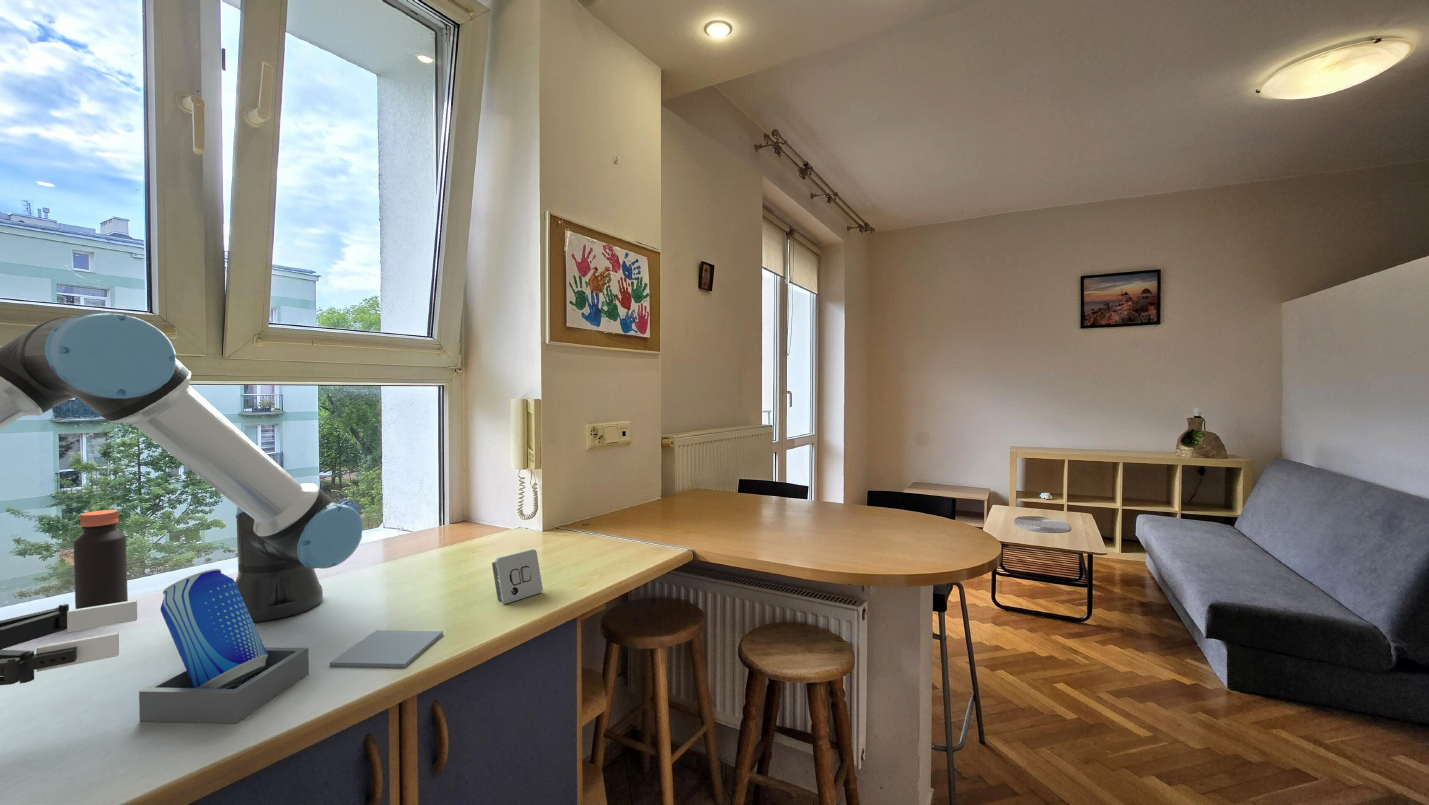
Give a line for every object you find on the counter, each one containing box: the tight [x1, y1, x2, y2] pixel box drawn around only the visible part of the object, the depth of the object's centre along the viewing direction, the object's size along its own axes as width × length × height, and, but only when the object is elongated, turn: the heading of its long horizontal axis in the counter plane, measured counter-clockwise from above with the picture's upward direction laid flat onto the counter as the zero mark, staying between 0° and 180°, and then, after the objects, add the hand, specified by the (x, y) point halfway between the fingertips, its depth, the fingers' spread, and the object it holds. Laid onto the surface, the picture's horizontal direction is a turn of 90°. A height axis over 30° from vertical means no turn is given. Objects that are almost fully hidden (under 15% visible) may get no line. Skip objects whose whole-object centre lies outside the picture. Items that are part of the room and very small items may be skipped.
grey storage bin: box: [138, 646, 310, 724], centre depth 82 cm, size 13×13×4 cm
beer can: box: [160, 568, 268, 689], centre depth 84 cm, size 8×8×16 cm
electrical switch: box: [491, 548, 544, 605], centre depth 122 cm, size 9×5×9 cm, turn 141°
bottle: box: [73, 509, 129, 609], centre depth 109 cm, size 7×7×20 cm
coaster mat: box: [329, 629, 444, 668], centre depth 97 cm, size 12×12×1 cm
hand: (128, 625), depth 76 cm, fingers open, 13 cm apart
